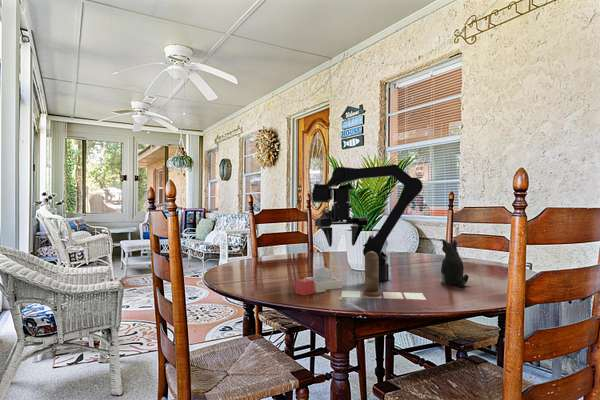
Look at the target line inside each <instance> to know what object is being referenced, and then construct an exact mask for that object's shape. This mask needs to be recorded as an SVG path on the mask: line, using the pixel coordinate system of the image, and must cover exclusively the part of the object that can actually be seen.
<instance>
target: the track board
mask: <svg viewBox="0 0 600 400" xmlns="http://www.w3.org/2000/svg"><path fill="white" fill-rule="evenodd" d="M361 294H362V295H361ZM361 296H362V299H388V300H389V299H392V300H396V299H397V300H404V299H405V300H419V301H420V300H421V301H422V300H423V301H424V300H425V301H427V299H426V297H425V295H424V294H423V293H422V292H403V293H402V292H398V291H397V292H393V291H392V292H391V291H382V295H381V296H378V297H368V296H364V295H363V290H362V293H361V291H360V290H358V291H357V290H341V295H340V296H339V301H348V300H347V299H345V298H354V299H355V298H359V299H360V298H361Z"/></svg>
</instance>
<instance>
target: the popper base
mask: <svg viewBox="0 0 600 400" xmlns="http://www.w3.org/2000/svg"><path fill="white" fill-rule="evenodd" d="M332 277H333V281H324V282H316V281H314V293H315V294H316V293H327V292H329V290H334V289H335V290H336V289H337V290H338V289H343V280H342V279H339V278H336V277H335V276H332ZM305 278H306V279H310V280H314V276H309V277H308V276H307V277H305Z"/></svg>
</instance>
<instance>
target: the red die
mask: <svg viewBox="0 0 600 400" xmlns="http://www.w3.org/2000/svg"><path fill="white" fill-rule="evenodd" d="M306 278H307V277H304V278H299V279H295V281H294V282H295V283H294V284H295V294H297V295H301V296H303V297H304V296H308V295H313V294H315V292H314V280H310V279H306Z"/></svg>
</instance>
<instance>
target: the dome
mask: <svg viewBox="0 0 600 400" xmlns="http://www.w3.org/2000/svg"><path fill="white" fill-rule="evenodd" d="M313 277H314V281H316V282H324V281H333V277H334V276H333V274H332V272H331V270H330V269H329V268H328V267H323V266H322V267H319V268H317V269H316V270H315V272H314V276H313Z"/></svg>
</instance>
